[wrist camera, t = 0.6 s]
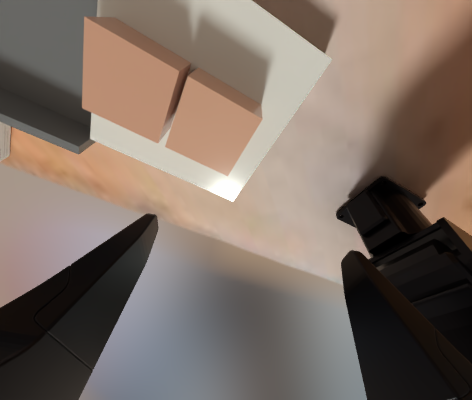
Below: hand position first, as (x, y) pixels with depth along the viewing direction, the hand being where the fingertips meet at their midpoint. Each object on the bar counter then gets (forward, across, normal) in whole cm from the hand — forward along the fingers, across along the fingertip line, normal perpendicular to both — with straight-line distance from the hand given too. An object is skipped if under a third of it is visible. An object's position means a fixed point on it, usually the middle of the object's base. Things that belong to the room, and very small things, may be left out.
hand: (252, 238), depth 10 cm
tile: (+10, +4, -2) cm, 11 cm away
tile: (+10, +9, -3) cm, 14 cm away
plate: (+12, +6, -2) cm, 13 cm away
